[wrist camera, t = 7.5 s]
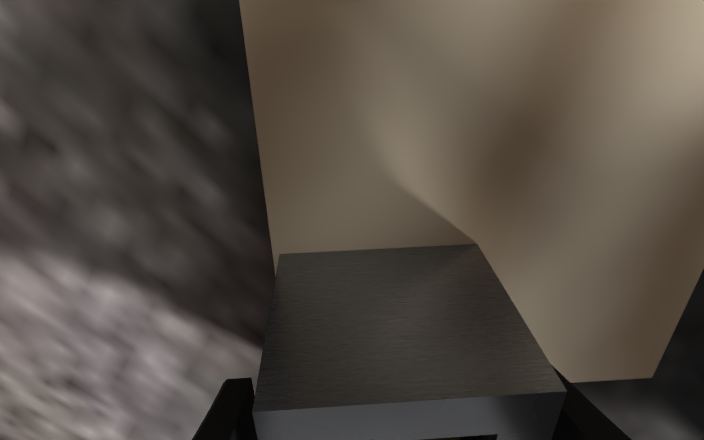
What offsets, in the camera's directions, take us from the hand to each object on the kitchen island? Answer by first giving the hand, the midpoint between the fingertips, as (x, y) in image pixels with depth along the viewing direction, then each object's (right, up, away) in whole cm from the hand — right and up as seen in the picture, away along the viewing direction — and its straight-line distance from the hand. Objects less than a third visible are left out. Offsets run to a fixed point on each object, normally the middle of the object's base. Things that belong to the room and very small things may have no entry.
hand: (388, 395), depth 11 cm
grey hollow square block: (0, +1, +2) cm, 2 cm away
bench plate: (+3, +5, +1) cm, 6 cm away
